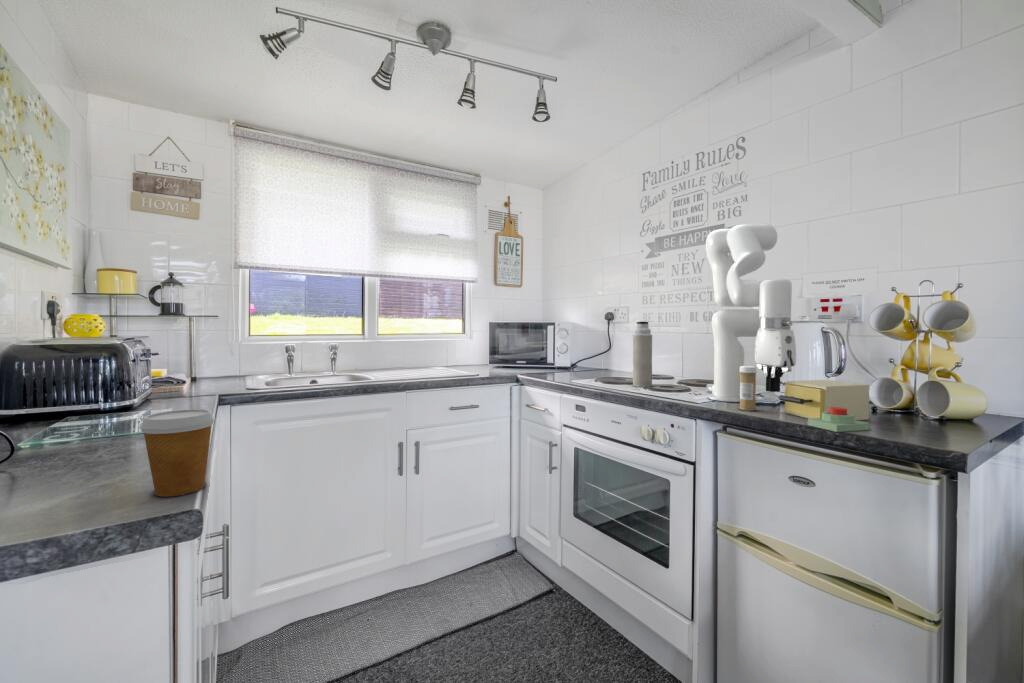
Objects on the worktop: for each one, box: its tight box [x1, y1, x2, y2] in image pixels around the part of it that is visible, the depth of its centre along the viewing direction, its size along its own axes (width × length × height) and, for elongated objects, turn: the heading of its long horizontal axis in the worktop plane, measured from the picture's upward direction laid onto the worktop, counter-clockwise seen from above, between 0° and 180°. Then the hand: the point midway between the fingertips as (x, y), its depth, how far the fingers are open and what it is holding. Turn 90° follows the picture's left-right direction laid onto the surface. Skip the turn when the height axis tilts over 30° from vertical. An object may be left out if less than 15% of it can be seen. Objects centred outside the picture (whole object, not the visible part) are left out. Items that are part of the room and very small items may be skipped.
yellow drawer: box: [778, 383, 824, 418], centre depth 125 cm, size 18×11×8 cm, turn 103°
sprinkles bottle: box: [739, 365, 757, 412], centre depth 136 cm, size 5×5×13 cm
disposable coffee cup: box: [139, 408, 216, 498], centre depth 70 cm, size 10×10×12 cm
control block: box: [807, 411, 870, 433], centre depth 112 cm, size 8×10×4 cm
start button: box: [829, 407, 847, 415], centre depth 112 cm, size 4×4×2 cm
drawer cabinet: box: [786, 379, 870, 421], centre depth 126 cm, size 15×13×10 cm
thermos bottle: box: [632, 321, 653, 388], centre depth 193 cm, size 8×8×28 cm
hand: (772, 391), depth 123 cm, fingers closed
